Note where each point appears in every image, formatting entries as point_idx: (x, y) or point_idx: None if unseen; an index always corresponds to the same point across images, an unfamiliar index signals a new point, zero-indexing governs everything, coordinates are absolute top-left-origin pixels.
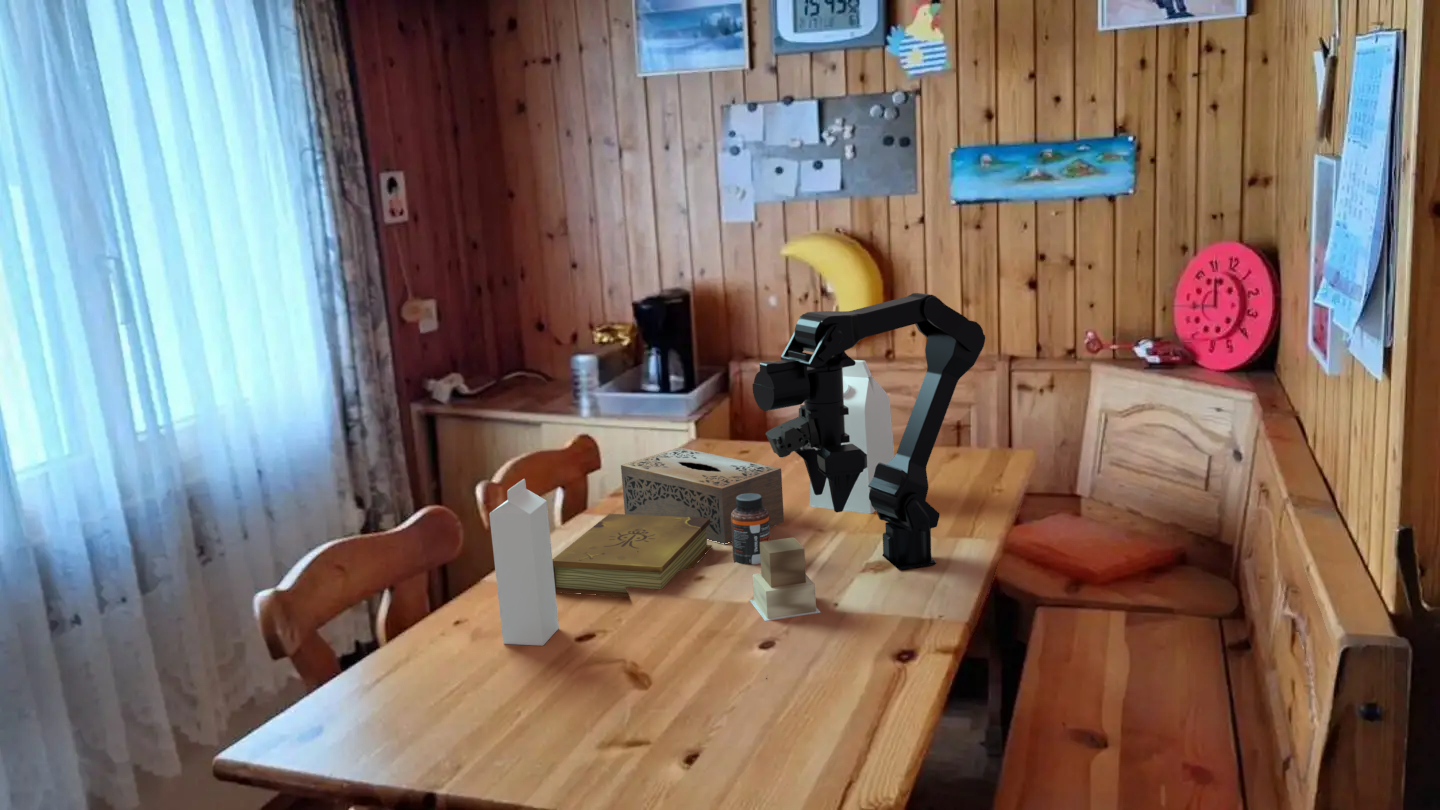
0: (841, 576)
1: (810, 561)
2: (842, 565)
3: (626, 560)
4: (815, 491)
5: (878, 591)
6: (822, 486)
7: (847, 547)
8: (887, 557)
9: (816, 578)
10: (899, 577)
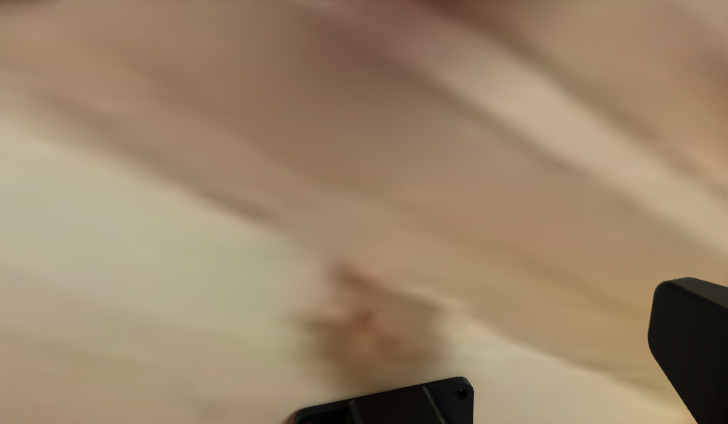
0: (311, 172)
1: (561, 68)
2: (449, 204)
3: None
4: (688, 304)
5: (56, 301)
6: (709, 414)
7: (640, 262)
8: (376, 406)
9: (325, 42)
10: (218, 406)
